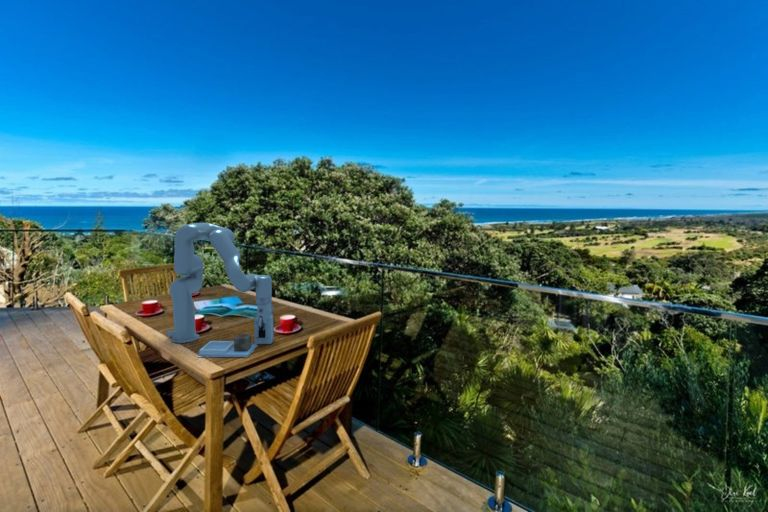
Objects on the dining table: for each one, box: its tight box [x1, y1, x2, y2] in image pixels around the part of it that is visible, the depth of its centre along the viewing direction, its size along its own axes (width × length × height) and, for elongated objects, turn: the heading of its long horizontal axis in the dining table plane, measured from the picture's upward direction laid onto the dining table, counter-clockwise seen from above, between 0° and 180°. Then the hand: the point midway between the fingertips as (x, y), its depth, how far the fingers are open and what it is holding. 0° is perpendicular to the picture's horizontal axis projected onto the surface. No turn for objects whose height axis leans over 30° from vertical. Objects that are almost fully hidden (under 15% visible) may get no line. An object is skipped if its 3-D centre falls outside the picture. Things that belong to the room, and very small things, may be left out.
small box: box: [253, 314, 274, 345], centre depth 192 cm, size 8×6×13 cm
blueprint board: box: [197, 340, 258, 358], centre depth 180 cm, size 22×14×3 cm, turn 91°
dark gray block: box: [233, 333, 252, 351], centre depth 179 cm, size 6×6×6 cm
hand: (264, 334), depth 193 cm, fingers closed on small box, 6 cm apart
